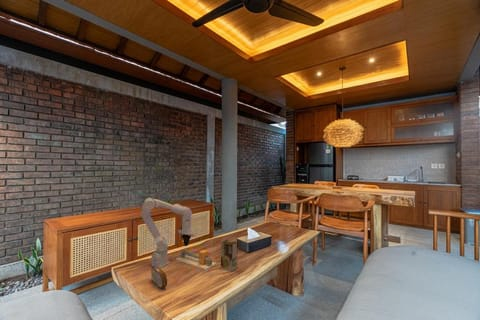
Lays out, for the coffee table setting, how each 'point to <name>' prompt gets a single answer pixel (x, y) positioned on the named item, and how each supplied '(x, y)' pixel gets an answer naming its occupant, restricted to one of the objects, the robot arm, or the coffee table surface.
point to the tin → (159, 277)
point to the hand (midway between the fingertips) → (186, 245)
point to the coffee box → (229, 255)
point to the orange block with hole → (203, 254)
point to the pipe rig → (195, 260)
